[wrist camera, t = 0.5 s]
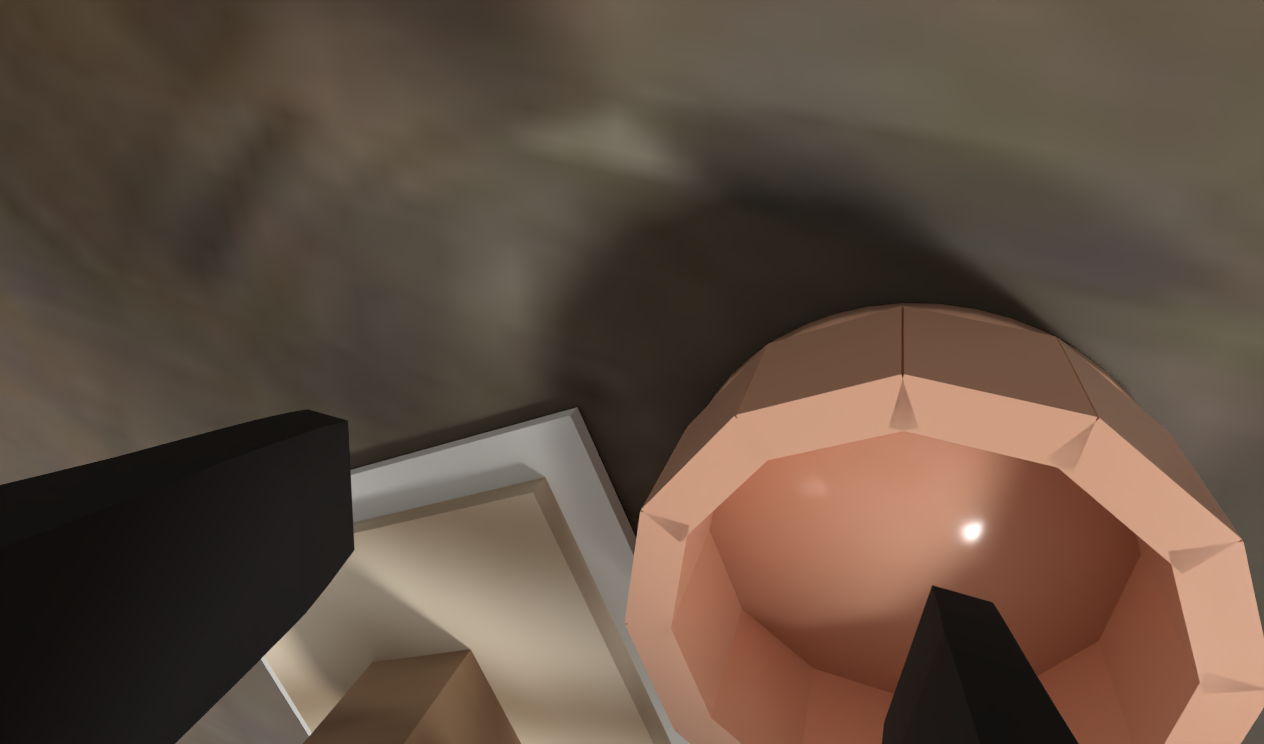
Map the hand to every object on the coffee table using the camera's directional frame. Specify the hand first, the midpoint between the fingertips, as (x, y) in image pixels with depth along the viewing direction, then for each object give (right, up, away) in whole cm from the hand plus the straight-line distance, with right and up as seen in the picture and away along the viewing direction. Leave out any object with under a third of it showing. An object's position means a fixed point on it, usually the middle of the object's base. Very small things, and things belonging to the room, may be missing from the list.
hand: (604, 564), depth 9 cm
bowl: (+7, -1, +9) cm, 12 cm away
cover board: (-5, -8, +16) cm, 19 cm away
